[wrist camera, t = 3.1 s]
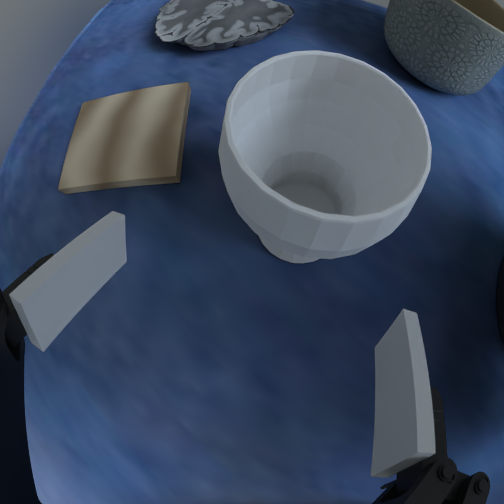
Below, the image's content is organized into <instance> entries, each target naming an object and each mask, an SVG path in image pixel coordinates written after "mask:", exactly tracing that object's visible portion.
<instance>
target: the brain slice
mask: <svg viewBox="0 0 504 504" xmlns="http://www.w3.org/2000/svg"><path fill="white" fill-rule="evenodd" d="M159 11H161V12H160V13H159V14H158V16H157V18H156V19H157V22H156V24H155V29H156V32H155V34H156V35H157V36H158V37H160V39H161V41H163V42H171V43H179V44H182V45H187V46H189V47H190V48H191V49H194V50H199V51H207V50H222V49H227V48H230V47H233V46H244V45H247V44H252V43H255V42H257V41H259V40H262V39H263V38H264V37H265V36H266V35H268V34H271V33H273V32H275V31H277V30H278V29H280V28H281V27H282V26H283V25H284V24H286V23H287V22H288V21H289V20H291V19H292V17H293V15H294V10H293V9H292V8H291V7H290V6H288V5H285V4H282V3H280V2H275V1H272V0H171V1H169V2H168V3H167V4H165V5H164V6H163V7H161V8H160V9H159Z"/></svg>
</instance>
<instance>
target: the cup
mask: <svg viewBox="0 0 504 504" xmlns="http://www.w3.org/2000/svg"><path fill="white" fill-rule="evenodd" d="M431 150H432V147H431V142H430V138H429V133H428V129H427V125H426V123H425V121H424V119H423V117H422V115H421V113H420V111H419V109H418V108H417V106H416V104H415V103H414V102H413V101H412V99H411V98H410V97H409V96H408V94H407V93H406V92H405V91H404V90H403V89H402V87H400V86H399V85H398V84H397V83H396V82H394V81H393V80H392V79H391V78H390V77H388V76H387V75H386V74H385V73H383V72H381V71H380V70H378V69H376V68H374V67H372V66H371V65H369V64H367V63H365V62H363V61H360V60H358V59H355V58H352V57H349V56H346V55H343V54H339V53H332V52H325V51H318V50H316V51H295V52H290V53H286V54H282V55H279V56H275V57H272V58H270V59H268V60H266V61H264V62H262V63H260V64H258V65H257V66H255V67H253V68H252V69H251V70H250V71H249V72H248V73H247V74H246V75H245V76H243V77H242V78H241V79H240V80H239V81H238V82H237V84H236V86H235V88H234V89H233V91H232V93H231V95H230V96H229V98H228V100H227V104H226V110H225V115H224V120H223V126H222V132H221V138H220V144H219V150H218V152H219V159H220V165H221V172H222V177H223V180H224V183H225V186H226V189H227V192H228V194H229V196H230V198H231V200H232V202H233V204H234V207H235V209H236V211H237V213H238V214H239V215H240V216H241V218H242V219H243V220H244V221H245V222H246V223H247V224H248V225H249V227H250V228H251V229H252V230H253V231H254V232H255V233H256V234H257V235H258V236H259V238H260V240H261V242H262V244H263V245H264V246H265V247H266V248H267V249H268V250H269V252H271V253H272V254H274V255H275V256H277V257H278V258H280V259H282V260H285V261H288V262H291V263H308V262H313V261H316V260H318V259H320V258H322V259H334V258H339V257H344V256H349V255H354V254H357V253H359V252H360V251H362V250H364V249H366V248H368V247H370V246H372V245H374V244H375V243H377V242H379V241H380V240H382V239H384V238H385V237H387V236H388V235H390V234H391V233H392V232H393V231H394V230H395V229H396V228H397V227H398V226H399V225H400V224H401V223H402V222H403V221H404V219H405V218H406V217H407V216H408V214H409V213H410V211H411V209H412V207H413V206H414V204H415V202H416V200H417V198H418V196H419V194H420V193H421V191H422V189H423V186H424V184H425V181H426V179H427V177H428V174H429V172H430V166H431Z"/></svg>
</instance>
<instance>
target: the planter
mask: <svg viewBox="0 0 504 504" xmlns="http://www.w3.org/2000/svg"><path fill="white" fill-rule="evenodd" d="M384 35H385V39H386V42H387V45H388V47H389V49H390V50H391V52H392V54H393V55H394V57H395V58H396V59H397V61H398V62H399V63H400V64H401V65H402V66H403V67H404V68H405V69H406V70H407V71H408V72H409V73H410V74H411V75H412V76H414V77H415V78H416V79H418V80H419V81H421V82H422V83H424V84H425V85H427V86H429V87H431V88H433V89H435V90H438V91H440V92H444V93H447V94H452V95H470V94H473V93H475V92H477V91H479V90H480V89H482V88H483V87H484V86H485V85H486V84H487V83H488V82H489V81H490V80H491V79H492V78H493V77H494V75H495V74H496V73H497V72H498V71H499V70H500V69H501V68H502V66H503V65H504V8H503V7H502V6H501V5H500V4H498V3H497V2H496V1H495V0H390V2H389V5H388V8H387V12H386V16H385V21H384Z"/></svg>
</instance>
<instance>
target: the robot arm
mask: <svg viewBox="0 0 504 504" xmlns="http://www.w3.org/2000/svg"><path fill="white" fill-rule="evenodd" d="M126 262H127V258H126V237H125V215H123V214H120V213H117V212H114V211H112V212H110V213H109V214H107V215H106V216H105V217H103V218H102V219H100V220H99V221H98V222H96V223H95V224H94V225H92V226H91V227H90V228H88V229H87V230H86V231H84V232H83V233H82V234H80V235H79V236H78V237H76V238H75V239H74V240H73V241H71V242H70V243H69V244H67V245H66V246H65V247H64V248H62V249H61V250H60V251H59V252H57V253H56V254H55V255H54V254H49V255H47V256H45V257H43V258H41V259H40V260H38V261H37V262H36V263H35V264H34V265H33V267H32V266H31V267H30V268H29V269H28V270H27V271H26V272H24V273H23V274H22V275H21V276H20V277H19V278H17V279H16V280H15V281H14V282H13V283H12V284H11V285H10V286H8V287H7V288H6V289H5V290H4V291H3V292H2V291H1V289H0V504H42V503H41V502H40V501H39V499H38V496H37V492H36V488H35V484H34V479H33V474H32V468H31V462H30V456H29V449H28V441H27V432H26V421H25V405H24V354H25V341H24V337H25V336H26V335H28V337H29V339H30V341H31V343H32V344H34V345H35V346H36V347H38V348H39V349H40V350H42V351H43V352H44V351H45V350H46V348H47V347H48V346H49V345H50V344H51V342H52V341H53V340H54V339H55V338H56V337H57V335H58V334H59V333H60V332H61V331H62V330H63V329H64V327H65V326H66V325H67V324H68V323H69V322H70V321H71V320H72V319H73V317H74V316H75V315H76V314H77V313H78V312H79V311H80V310H81V309H82V308H83V306H84V305H85V304H86V303H87V302H88V301H89V300H90V299H91V298H92V297H93V296H94V295H95V294H96V293H97V292H98V290H99V289H100V288H101V287H102V286H103V285H104V284H105V283H106V282H107V281H108V280H109V279H110V278H111V277H112V276H113V275H114V274H115V273H116V272H117V271H118V270H119V269H120V268H121V267H122V266H123V265H124V264H125V263H126ZM497 313H498V322H499V327H500V331H501V335H502V338H503V341H504V259H503V262H502V265H501V269H500V274H499V279H498V288H497ZM443 411H444V410H443V402H442V398H441V396H440V394H439V391H438V389H437V388H433V387H430V382H429V375H428V368H427V362H426V356H425V350H424V345H423V339H422V334H421V329H420V325H419V320H418V316H417V313H415V312H412V311H409V310H406V309H403V310H402V311H401V312H400V314H399V315H398V317H397V318H396V320H395V321H394V322H393V324H392V325H391V326H390V328H389V329H388V331H387V332H386V333H385V335H384V336H383V337H382V339H381V340H380V341H379V343H378V344H377V345H376V346H375V424H374V443H373V456H372V467H371V476H372V477H390V476H392V475H394V474H396V473H397V480H394V481H392V482H390V483H387V484H385V485H383V486H382V487H380V488H381V489H384V488H387V487H388V488H387V489H386V490H385V491H384V492H383V493H382V494H381V495H380V496H379V497H378V498H377V499H376V500H375V501H374V502H373V503H372V504H485V503H486V500H487V497H488V494H489V489H490V481H489V478H488V476H487V475H486V474H485V473H484V472H477V473H475V474H473V475H471V476H469V475H466V474H464V473H461V472H459V471H457V467H456V465H455V463H454V462H453V460H451V459H450V458H448V457H447V444H446V430H445V422H444V413H443Z"/></svg>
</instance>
